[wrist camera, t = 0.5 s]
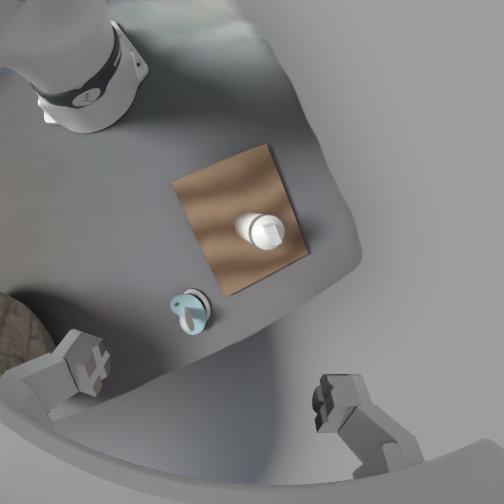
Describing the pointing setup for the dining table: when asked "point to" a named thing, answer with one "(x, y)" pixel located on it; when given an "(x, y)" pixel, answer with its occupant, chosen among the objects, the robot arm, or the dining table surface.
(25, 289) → the dining table surface
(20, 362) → the pot
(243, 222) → the white bar-topped cylinder
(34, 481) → the robot arm
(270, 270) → the board
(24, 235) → the dining table surface
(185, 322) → the pacifier
